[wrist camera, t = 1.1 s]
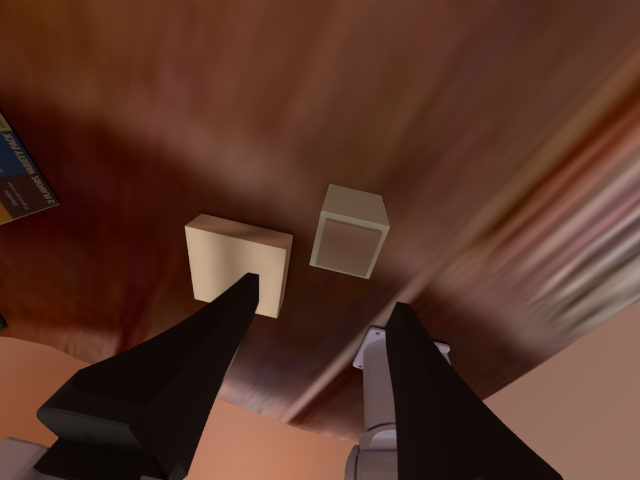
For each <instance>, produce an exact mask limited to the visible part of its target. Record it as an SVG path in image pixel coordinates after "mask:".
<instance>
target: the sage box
mask: <svg viewBox="0 0 640 480" xmlns="http://www.w3.org/2000/svg"><path fill="white" fill-rule="evenodd" d="M389 229H390V224H389V220H388V217H387V213H386V210H385V206H384V202H383V199H382V196H380V195H376V194H372V193H368V192H363V191H359V190H355V189H351V188H346V187H342V186H338V185H334V184H329V187H328V190H327V193H326V197H325V200H324V203H323V206H322V210H321V214H320V219H319V223H318V228H317V232H316V237H315V242H314V246H313V251H312V256H311V260H310V265H312V266H316V267H320V268H325V269H329V270H333V271H337V272H341V273H346V274H350V275H354V276H358V277H363V278H367V279H369V277H370V275H371V272H372V270H373V268H374V265H375V263H376V260H377V258H378V255H379V253H380V251H381V248H382V246H383V243H384V241H385V238H386V236H387V233H388V231H389Z"/></svg>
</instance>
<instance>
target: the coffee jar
mask: <svg viewBox="0 0 640 480" xmlns="http://www.w3.org/2000/svg"><path fill="white" fill-rule="evenodd" d="M2 330H3V320H2V319H1V317H0V332H1V331H2Z"/></svg>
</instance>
